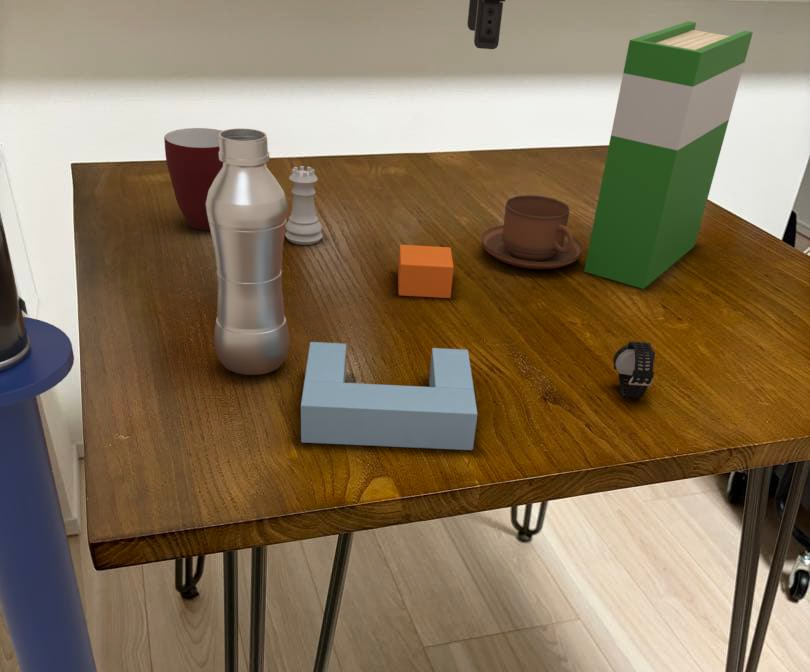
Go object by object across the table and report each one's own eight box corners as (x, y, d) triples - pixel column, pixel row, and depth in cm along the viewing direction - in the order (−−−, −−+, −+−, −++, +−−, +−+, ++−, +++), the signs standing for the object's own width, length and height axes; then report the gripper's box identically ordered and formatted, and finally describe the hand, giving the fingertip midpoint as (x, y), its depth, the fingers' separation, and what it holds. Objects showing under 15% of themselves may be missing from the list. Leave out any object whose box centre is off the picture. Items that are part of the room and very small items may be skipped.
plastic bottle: (209, 354, 83) (190, 124, 71) (280, 346, 85) (274, 121, 73) (224, 388, 78) (207, 148, 66) (299, 378, 81) (296, 145, 68)
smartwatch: (654, 388, 84) (667, 339, 80) (643, 413, 80) (656, 363, 77) (611, 377, 85) (622, 328, 82) (598, 401, 81) (609, 351, 78)
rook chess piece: (283, 245, 105) (282, 174, 100) (286, 231, 109) (284, 162, 104) (321, 246, 105) (322, 176, 100) (323, 233, 109) (323, 164, 104)
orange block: (398, 295, 96) (400, 264, 94) (398, 274, 100) (399, 244, 98) (450, 298, 96) (453, 267, 94) (447, 277, 101) (450, 247, 99)
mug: (179, 205, 113) (171, 120, 107) (243, 207, 114) (239, 123, 108) (168, 236, 105) (159, 146, 99) (238, 238, 106) (233, 149, 100)
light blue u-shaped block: (301, 442, 73) (300, 405, 70) (310, 376, 81) (310, 341, 79) (472, 450, 73) (477, 413, 71) (463, 384, 82) (468, 349, 80)
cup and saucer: (596, 256, 108) (606, 205, 105) (552, 287, 100) (562, 233, 97) (509, 232, 113) (516, 181, 109) (461, 259, 105) (466, 206, 101)
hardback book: (639, 231, 117) (688, 21, 101) (694, 246, 114) (753, 31, 99) (584, 271, 105) (629, 40, 90) (643, 289, 102) (701, 52, 87)
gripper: (455, -182, 81) (439, 22, 91) (466, -182, 70) (446, 51, 80) (537, -175, 81) (512, 28, 91) (561, -174, 70) (529, 57, 80)
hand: (481, 38), depth 86 cm, fingers open, 8 cm apart
